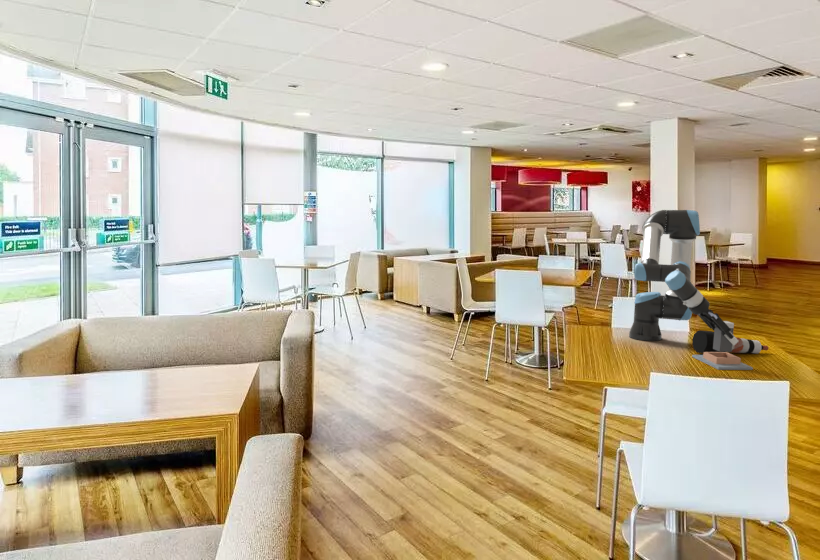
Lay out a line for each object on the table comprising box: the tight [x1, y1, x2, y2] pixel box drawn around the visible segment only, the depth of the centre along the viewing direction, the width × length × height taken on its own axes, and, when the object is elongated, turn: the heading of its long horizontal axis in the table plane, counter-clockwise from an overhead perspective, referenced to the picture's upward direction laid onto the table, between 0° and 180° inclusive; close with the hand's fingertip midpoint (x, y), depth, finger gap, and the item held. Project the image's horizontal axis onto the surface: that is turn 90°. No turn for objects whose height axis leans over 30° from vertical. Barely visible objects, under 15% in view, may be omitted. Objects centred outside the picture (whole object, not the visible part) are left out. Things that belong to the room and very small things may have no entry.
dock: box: [692, 352, 754, 371], centre depth 232 cm, size 20×14×4 cm
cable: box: [691, 329, 769, 354], centre depth 249 cm, size 10×34×10 cm
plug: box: [713, 320, 735, 353], centre depth 231 cm, size 5×5×12 cm
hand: (731, 341), depth 231 cm, fingers closed on plug, 5 cm apart
